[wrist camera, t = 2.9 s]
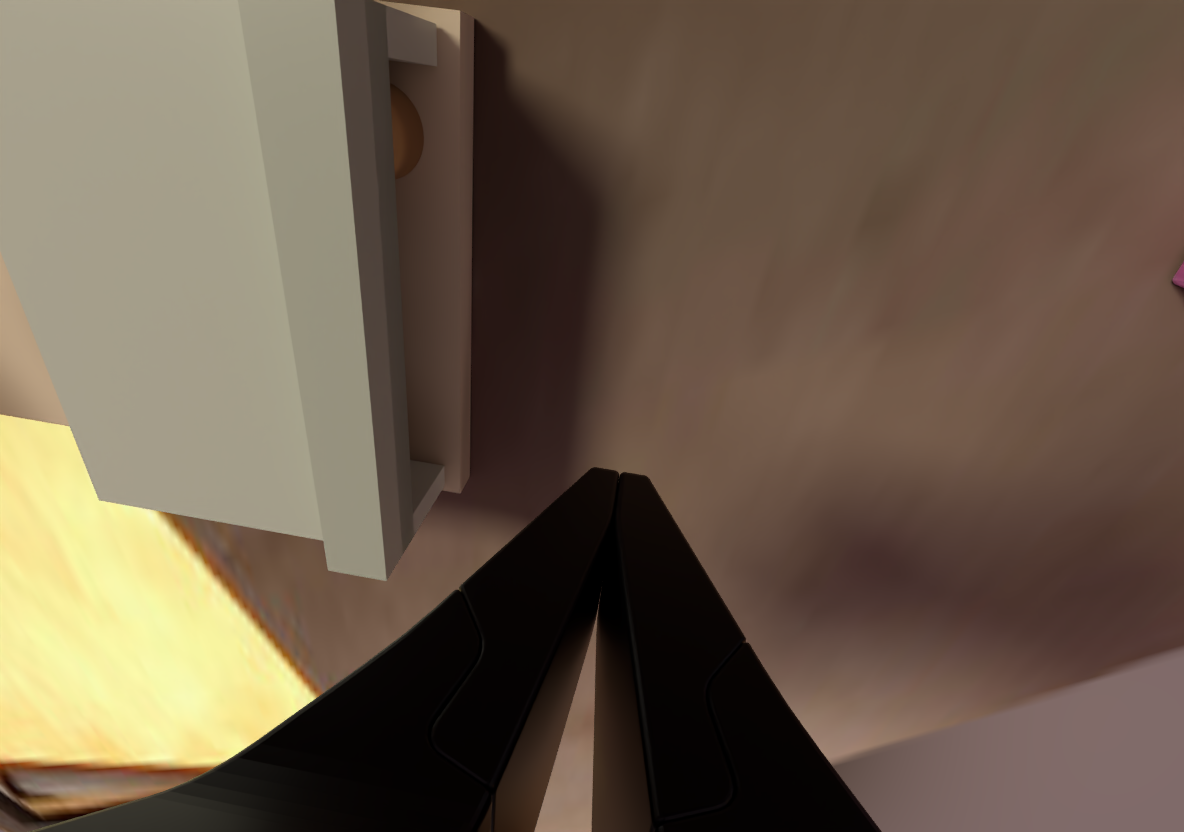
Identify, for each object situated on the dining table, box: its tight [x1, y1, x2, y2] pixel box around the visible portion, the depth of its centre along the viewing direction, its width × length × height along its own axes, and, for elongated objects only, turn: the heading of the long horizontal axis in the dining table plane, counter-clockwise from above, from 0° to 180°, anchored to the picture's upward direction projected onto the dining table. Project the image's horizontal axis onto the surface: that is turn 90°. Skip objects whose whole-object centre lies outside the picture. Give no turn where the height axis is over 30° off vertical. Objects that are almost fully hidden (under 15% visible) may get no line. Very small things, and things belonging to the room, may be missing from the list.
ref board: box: [0, 0, 474, 494], centre depth 15 cm, size 19×13×3 cm
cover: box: [0, 0, 445, 581], centre depth 14 cm, size 9×13×4 cm
